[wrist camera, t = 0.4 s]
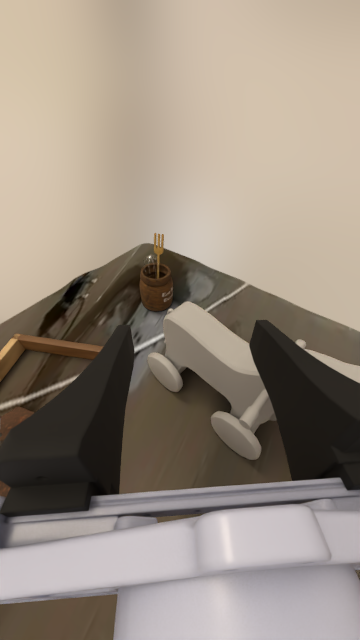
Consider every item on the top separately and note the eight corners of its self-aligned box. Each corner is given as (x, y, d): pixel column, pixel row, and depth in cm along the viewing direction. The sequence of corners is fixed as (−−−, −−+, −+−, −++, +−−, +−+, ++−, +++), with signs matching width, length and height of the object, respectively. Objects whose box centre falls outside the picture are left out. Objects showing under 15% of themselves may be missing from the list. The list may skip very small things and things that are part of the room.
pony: (304, 428, 28) (413, 351, 15) (264, 506, 23) (381, 485, 10) (186, 339, 37) (195, 244, 24) (137, 380, 31) (117, 286, 19)
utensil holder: (137, 310, 41) (128, 251, 32) (146, 288, 45) (141, 231, 36) (169, 314, 40) (169, 256, 31) (175, 292, 44) (177, 235, 36)
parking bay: (87, 472, 24) (80, 468, 22) (-57, 444, 25) (-74, 438, 23) (128, 359, 34) (125, 349, 32) (23, 343, 35) (15, 333, 33)
